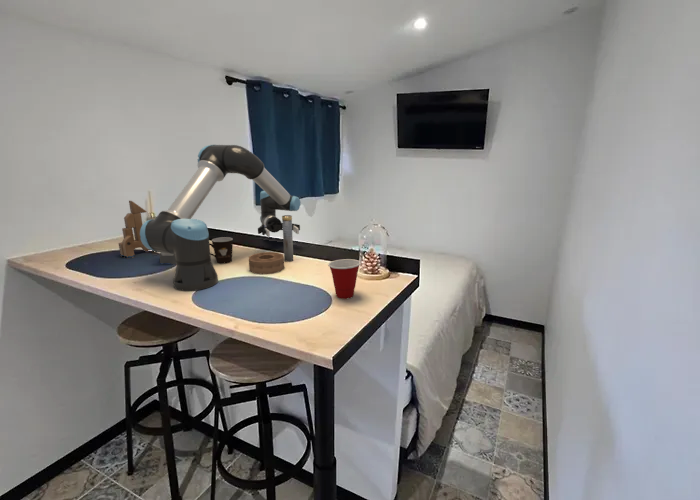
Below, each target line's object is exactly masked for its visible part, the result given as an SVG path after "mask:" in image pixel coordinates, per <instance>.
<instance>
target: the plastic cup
mask: <svg viewBox="0 0 700 500" xmlns="http://www.w3.org/2000/svg"><path fill="white" fill-rule="evenodd" d="M327 265H328V267H329V269H330V272H331V275H332V276H331V277H332V281H333V287H334V291H335V296H336V297H337V298H339V299H341V300H348V299H347V298H349V299H352V298H353V297H354V294H355V289H356V286H357V285H356V283H357V279H358V274H359V273H358V271H359V267H360V265H361V261H360V260H359V259H358V260H357V259H354V258H353V259H351V258H346V259H344V258H343V259H342V258H341V259H336V260H332V261H330V262H328V264H327ZM351 297H352V298H351Z"/></svg>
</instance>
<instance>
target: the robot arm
mask: <svg viewBox="0 0 700 500" xmlns="http://www.w3.org/2000/svg"><path fill="white" fill-rule="evenodd" d="M197 157H198V158H197V170H196V171H195V173H194V174H193V176H191V178H190V179H189V181H188V182H186V183H187V184H186V185H185V186H184V187H183V189H182V190H181V191H180V193H179V194H178V196H176V198H175V199H174V200H173V202H172V203H171V204H170V206H169V208H168V209H166V210H161V211H160V212H159V213H158V214H157V216H156V217H155V219H153V218H152V219H148V220H146V221H144V223H142V224H143V225H142V227H141V229H140V236H141V242H142V244H143V245H144V246H145V247H146V248H147V249H149V250H153V251H155V252H154V253H160V252H163V253H170V254H175V257H176V264H175V265H176V266H175V271H174V276H173V279H172V282H173V288H174V289H175V290H179V291H185V292H186V291H187V292H190V291H191V292H192V291H200V290H204V289H207V288H211V287H214V286H215V285H216V284H218V283H219V276H218V274H217V271H216V269H215V267H214V265H213V263H212V257H211V255H210V253H211V248H210V246H211V245H209V243H210V234H209V230H208V225H207V223H205V222H204V221H203V220H200V219H197V218H193V217H194V215H195V214H196V212H197V210H198V209H199V208H200V206H201V205H202V204H203V202H204V201H205V199H206V198H207V196H208V195H209V194H210V192H211V191H212V190H213V188H214V186H215V185H216V183H217V182H221V181H223V180H224V178H226V176H227V175H228V174H238V175H242V176H245V178H247V179H248V180H252V181H253V182H254V183H255V184H256V185H258V186H259V188H260V189H262V190H261V191H260V194H259V196H260V198H259V201H260V202H259V203H260V218H259V220H260V223H261V225H260V226H259V227H258V228H257V233H258V235H262V236H266V237H268V238H269V237H270V232H271V233H278V232H279V231H283V222H282V220H280V219H279V218H278V217H277V214H276V211H278V210H279V211H288V212H298V211H299V210H300V208H301V207H300V206H301V200H300V197H298V196H295V195H291V194H290V193H289V191H287V190H286V188H284V186H283V185H282V184H281V183H280V182H279V181H278V180H277V179H276V178H275V177H274V176H273V175H272V174H271V172H269V171H268V170H267V169H266V168H265V163H264V162H263V161H262V160H261V158H259V157H258V156H257V155H255V154H254V153H253V152H252V151H251V150H249V149H247V148H245V147H243V146H241V145H238V144H210V145H205V146H204V147H202V148H201V149H200V150H199V152H198V155H197ZM300 230H301V225H300V224H298V223H292V232H293V233H295V234H296V235H300V232H299V231H300ZM153 251H152V252H153Z"/></svg>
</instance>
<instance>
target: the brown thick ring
mask: <svg viewBox="0 0 700 500" xmlns="http://www.w3.org/2000/svg"><path fill="white" fill-rule="evenodd" d="M248 269H249V272H250V273H253V274H255V275H256V274H257V275H270V274H271V275H272V274H276V273H279V272H281V271H283V270H284V269H285V261H284V253H280V252H274V251H267V252H258V253H253V254H251V255H250V256H248Z"/></svg>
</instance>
